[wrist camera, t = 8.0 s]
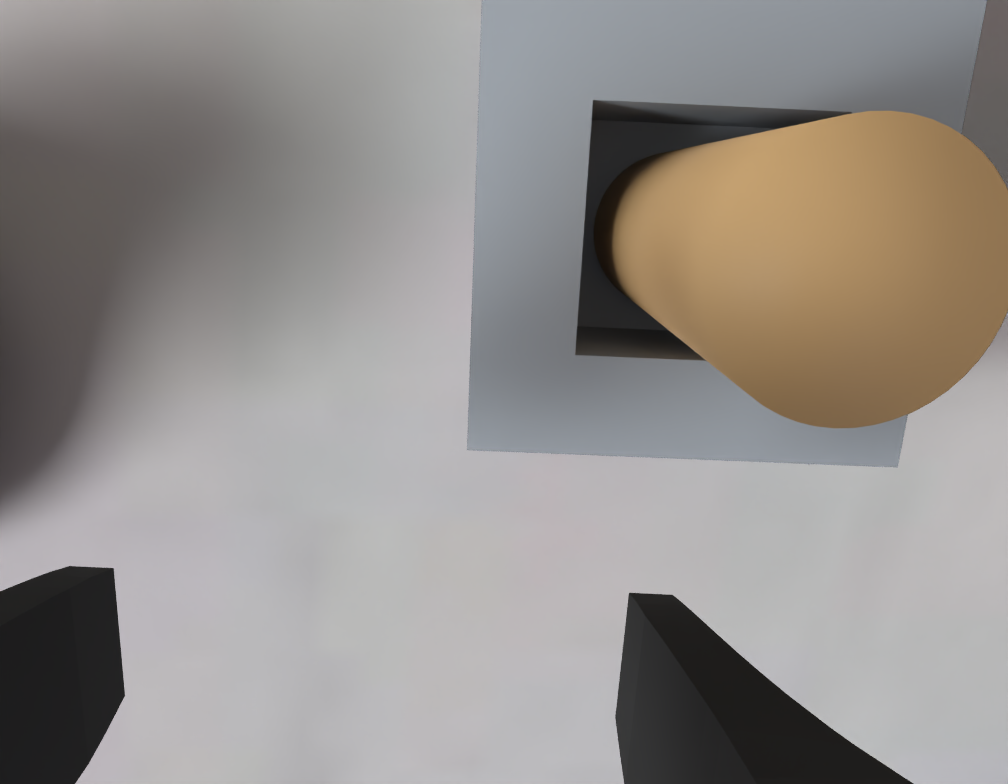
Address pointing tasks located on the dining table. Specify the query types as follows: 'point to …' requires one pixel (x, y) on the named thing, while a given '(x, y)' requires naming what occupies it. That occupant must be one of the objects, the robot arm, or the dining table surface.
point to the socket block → (622, 142)
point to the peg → (819, 260)
